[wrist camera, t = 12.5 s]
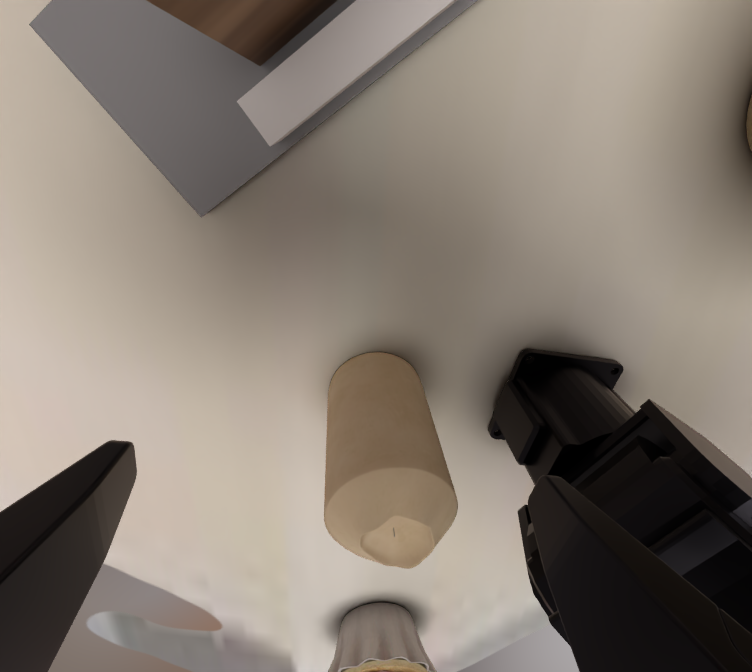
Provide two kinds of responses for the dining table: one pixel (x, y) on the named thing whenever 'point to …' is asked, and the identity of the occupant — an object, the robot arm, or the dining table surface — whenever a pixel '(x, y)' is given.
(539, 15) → the dining table surface
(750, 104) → the plant pot
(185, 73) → the board
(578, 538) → the robot arm
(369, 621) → the cupcake
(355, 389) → the candle
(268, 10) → the door
